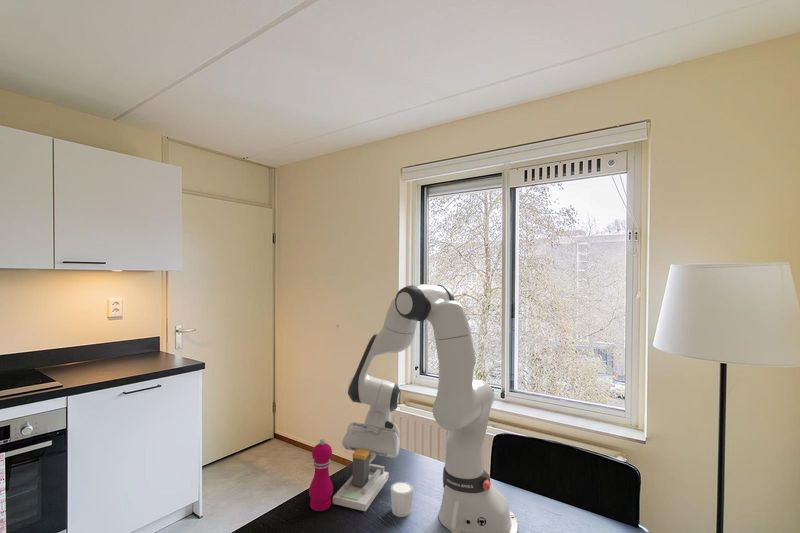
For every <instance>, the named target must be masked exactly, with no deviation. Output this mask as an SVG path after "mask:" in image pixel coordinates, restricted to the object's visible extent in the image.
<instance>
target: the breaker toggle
mask: <svg viewBox="0 0 800 533" xmlns="http://www.w3.org/2000/svg"><path fill="white" fill-rule="evenodd" d="M369 457H370V450H364V449H359V448H358V449H357V450H356V451H353V453H352V475H351V476H352V486H357V487H361V488H363V487H364V486H365V484H366V483H367V482H368V481H369Z"/></svg>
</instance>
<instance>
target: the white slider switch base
mask: <svg viewBox="0 0 800 533" xmlns="http://www.w3.org/2000/svg"><path fill="white" fill-rule="evenodd" d="M389 474H390V472H388V471H385V465H379V464H373V463H370V466H369V481H368V482H367V483H366V484H365V486H364V487H363V488H361V487H357V486H352V475H351V476H350V477H349V478H348V479H347V481H346V482H345V483H344V484H343V485H342V486H341V487H340V488H339V490H337V492H335V494H334V495H333V496H332V505H337V506H341V507H346V508H349V509H354V510H359V511H361V512H362V511H363V512H366V511H367V510H368V508H369V507H370V506H371V504H372V502H374V499H376V497H377V496H378V494H379V493H380V492H381V490H382V489H383V487H384V486H385V484H386V483H387V481H388V480H389V479H388V478H390V477H389V476H390V475H389Z"/></svg>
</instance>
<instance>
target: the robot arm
mask: <svg viewBox="0 0 800 533" xmlns="http://www.w3.org/2000/svg"><path fill="white" fill-rule="evenodd" d="M425 321H427V322H429V323H430V324H431V326H432V330H433V336H434V341H435V348H436V354H437V361H438V384H437V391H436V393H437V394H436V397H435V400H434V401H433V404H432V415H433V418H434V420H435V422H436V423H437V425H438V426H439V427H441V429H444V430H445V431H449V432H448V434H447V436H446V439H445V445H444V446H445V448H444V449H445V454H444V456H445V458H444V467H443V470H442V487H443V493H442V498H441V505H440V508H439V510H438V519H439V522H440V523H441V525H442V526H444V527H445V528H446V529H447V530H448V531H449V532H450V533H519V524H518V519H517V517H516V515H515V514H514V513H513V512H512V511H511V510H510V507H509V503H508V501H507V498H506V497H505V496H504V495H503V494H502V492H499V490H497V489H496V488H495V487H494V486H493V485H491V476H490V475H491V474H490V471H489V470H488V471H486V470H484V449H485V448H484V447H485V439H486V433H487V430H488V429H487V428H488V426H489V424H488V423H489V418H490V414H491V409H492V406H493V405H494V401H495V393H494V389H493V388H492V387H491V385H490V384H489V383H488V382H487V381H485V380H482V379H478V378H477V379H474V369H475V366H476V363H477V362H476V361H477V357H476V352H475V347H474V342H473V337H472V332H471V327H470V323H469V320H468V318H467V314H466V311H465V310H464V306H463V305H462V304H461V303H460V302H458V301H455V296H454V293H453V292H452V290H451V289H450V288H448V287H447V286H445V285H442V284H427V283H423V284H415V285H412V284H411V285H407V286H404V287H402V288H401V289H400V290H398V291H397V293H396V295H395V297H394V298H393V299H392V300H391V302H390V305H389V306H388V309H387V312H386V314H385V318H384V322H383V326H382V328H381V329H380V331H379V332H378V333H376V334H373V335H372V336H371V338H370V340H369V341H368V343H367V345H366V348H365V349H364V352H363V355H362V356H361V358H360V361H359V364H358V365H357V369H356V371H355V373H354V375H353V376H352V377H351V379H350V381H349V384H348V388H347V395H348V397H349V399H350V400H351V401H352V402H353V403H358V404H363V405H367V406H369V410H368V411H367V412H366V416H365V419H364V422H362V423H361V422H359V423H358V422H356V421H355V422H352V423H350V424H348V426H347V429H346V432H345V434H344V436H343V439H342V441H341V444H342V447H343V448H344V449H345V450H348V451H353V452H355V451H356V450H357V449H358V448H359V449H364V450H370V454H369V466H370V464H372V462H373V461H374V460H375V459H376V457H377V456H381V457H387V458H392V459H396V458H397V457H398V455H399V454H400V453H399V452H400V448H401V446H400V445H401V441H400V435H401V431H400V429H399V427H398V425H397V424H396V423H394V422H392V421H391V415H392V413H393V412H394V411H396V410H397V409H398V404H399V400H400V397H401V394H402V393H401V389H400V388H399V386H398V384H397V383H395V382H393V381H389V380H386V379H382V378H379V377H375V376H371V375H369V374H368V372H369V370H370V368H371V366H372V363H373V361H374V359H375V358H376V357H377V356H381V355H387V354H397V353H400V352H403V351H405V350H406V349H408V348H409V347H410V346H411V344H412V342H413V340H414V336H415V333H416V330H417V325H418V322H420V323H422V322H423V323H424V322H425Z"/></svg>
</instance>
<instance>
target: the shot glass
mask: <svg viewBox="0 0 800 533" xmlns="http://www.w3.org/2000/svg"><path fill="white" fill-rule="evenodd" d="M413 495H414V487H413V485H412V484H411V483H409V482H406V481H397V482H394V483H393V484H391V485H390V499H391V500H390V502H391V512H392V515H394V516H396V517H399V518H405V517H407V516H409V515H410V514H411V512H412V503H413Z"/></svg>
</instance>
